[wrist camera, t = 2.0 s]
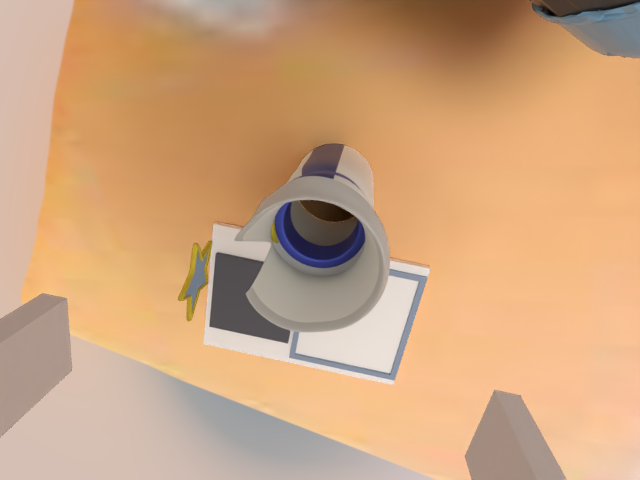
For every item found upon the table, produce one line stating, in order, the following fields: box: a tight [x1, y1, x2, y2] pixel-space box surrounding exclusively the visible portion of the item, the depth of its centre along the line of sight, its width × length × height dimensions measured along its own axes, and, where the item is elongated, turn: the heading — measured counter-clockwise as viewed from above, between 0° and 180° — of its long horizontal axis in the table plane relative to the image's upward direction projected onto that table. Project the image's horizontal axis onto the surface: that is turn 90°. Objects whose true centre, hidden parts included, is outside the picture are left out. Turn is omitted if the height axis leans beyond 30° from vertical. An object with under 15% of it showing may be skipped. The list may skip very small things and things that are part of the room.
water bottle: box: [178, 144, 390, 333], centre depth 25 cm, size 8×8×25 cm
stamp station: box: [204, 222, 430, 385], centre depth 40 cm, size 15×22×1 cm
